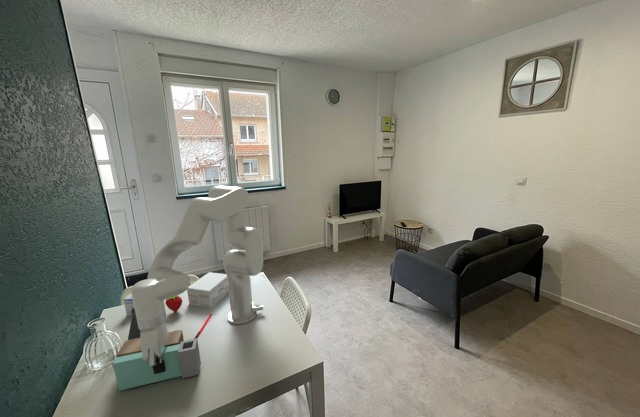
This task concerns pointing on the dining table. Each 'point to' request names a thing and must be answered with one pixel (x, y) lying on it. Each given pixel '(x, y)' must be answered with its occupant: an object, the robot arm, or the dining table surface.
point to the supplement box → (208, 290)
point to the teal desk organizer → (140, 372)
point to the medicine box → (128, 304)
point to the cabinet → (135, 344)
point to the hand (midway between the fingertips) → (161, 367)
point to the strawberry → (174, 303)
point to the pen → (203, 326)
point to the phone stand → (134, 327)
